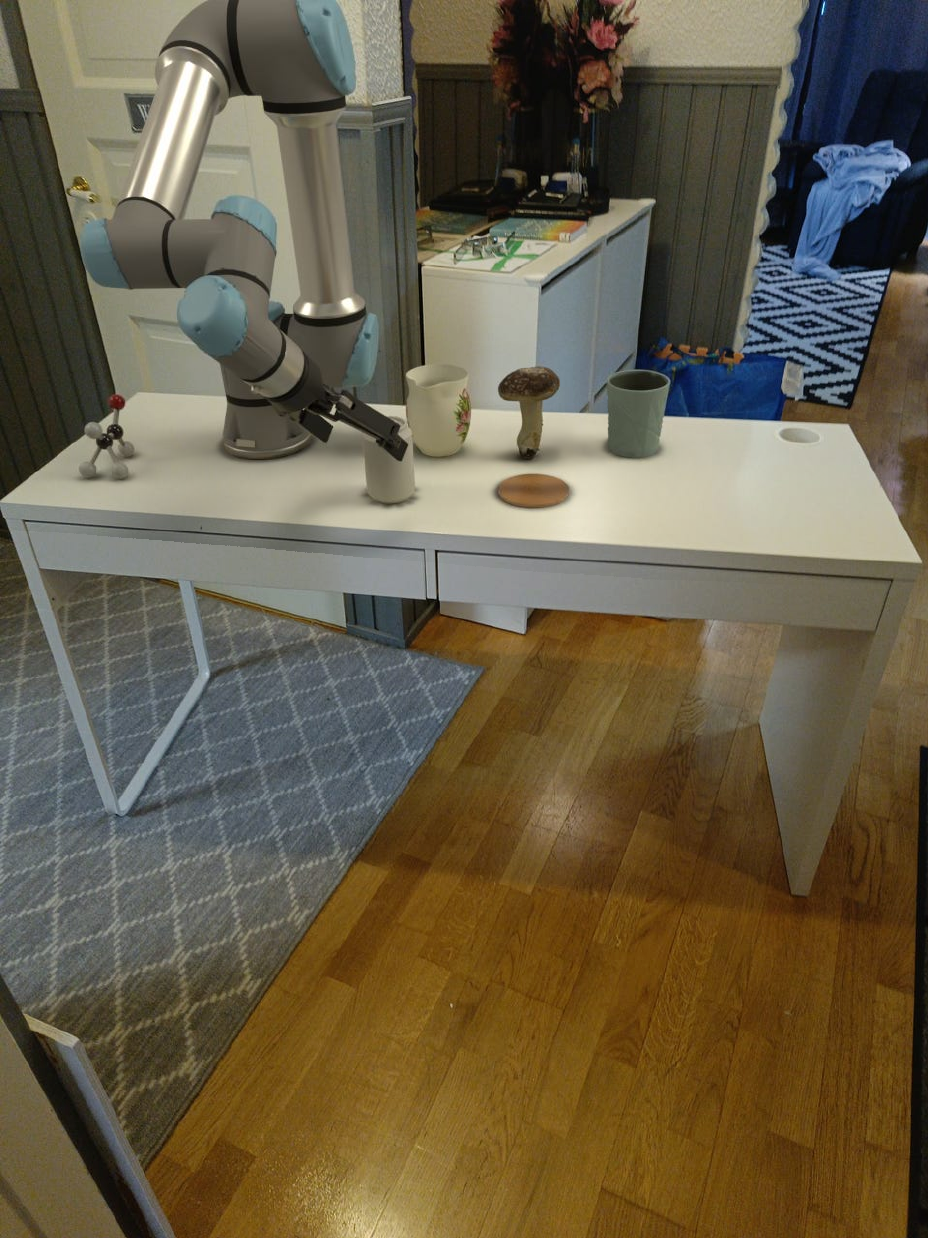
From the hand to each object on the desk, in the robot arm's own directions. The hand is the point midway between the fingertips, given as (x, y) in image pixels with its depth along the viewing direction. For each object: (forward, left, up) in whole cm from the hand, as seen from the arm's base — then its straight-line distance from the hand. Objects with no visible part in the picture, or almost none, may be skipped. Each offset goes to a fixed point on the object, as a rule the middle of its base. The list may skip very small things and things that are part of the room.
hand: (364, 443), depth 128 cm
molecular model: (-24, -42, -11) cm, 49 cm away
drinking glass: (-14, +45, -11) cm, 49 cm away
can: (-4, +3, -11) cm, 12 cm away
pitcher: (-21, +13, -11) cm, 27 cm away
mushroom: (-14, +27, -11) cm, 33 cm away
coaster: (-1, +25, -11) cm, 28 cm away
